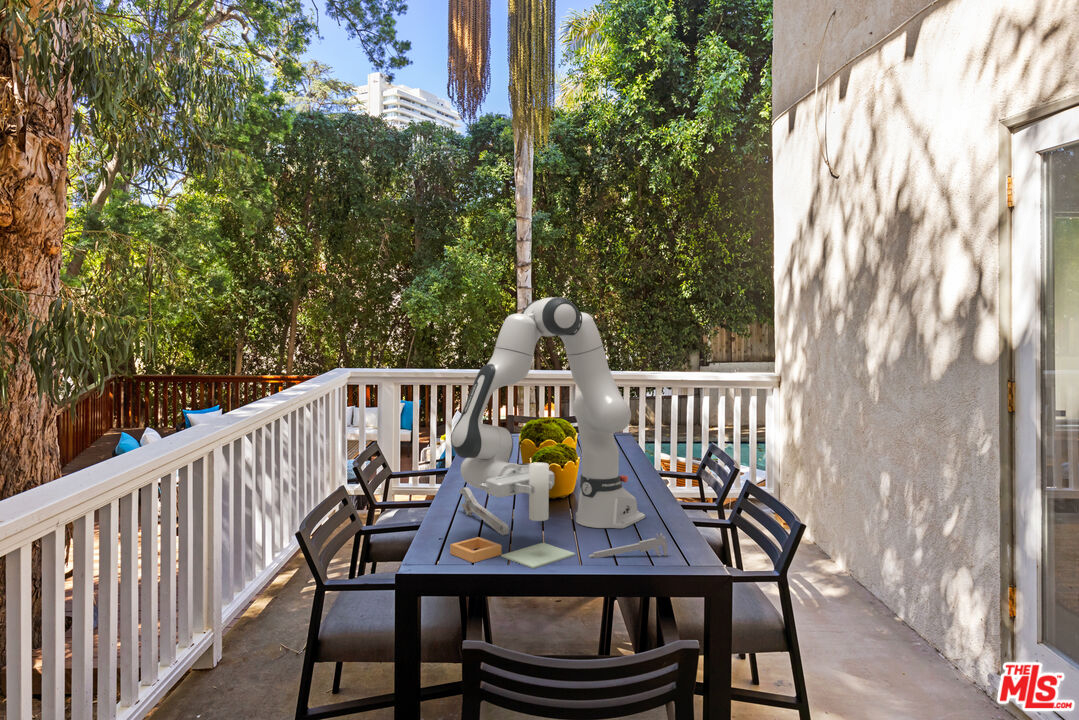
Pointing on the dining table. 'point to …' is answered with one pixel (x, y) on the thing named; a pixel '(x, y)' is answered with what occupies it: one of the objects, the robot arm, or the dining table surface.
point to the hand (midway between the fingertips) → (541, 488)
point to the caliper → (635, 547)
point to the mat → (538, 555)
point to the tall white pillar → (539, 491)
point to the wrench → (482, 512)
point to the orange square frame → (467, 553)
